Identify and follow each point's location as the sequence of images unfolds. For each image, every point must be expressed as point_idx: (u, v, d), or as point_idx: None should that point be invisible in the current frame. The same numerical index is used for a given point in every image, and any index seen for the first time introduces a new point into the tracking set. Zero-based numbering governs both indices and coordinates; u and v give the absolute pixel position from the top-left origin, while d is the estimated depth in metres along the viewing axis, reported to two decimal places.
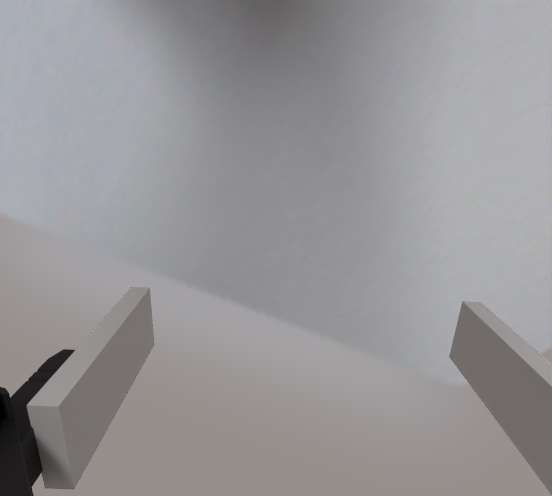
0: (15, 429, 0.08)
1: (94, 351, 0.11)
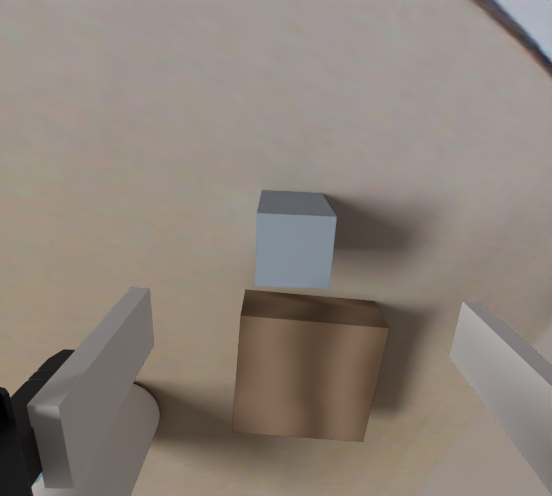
0: (15, 429, 0.08)
1: (94, 351, 0.11)
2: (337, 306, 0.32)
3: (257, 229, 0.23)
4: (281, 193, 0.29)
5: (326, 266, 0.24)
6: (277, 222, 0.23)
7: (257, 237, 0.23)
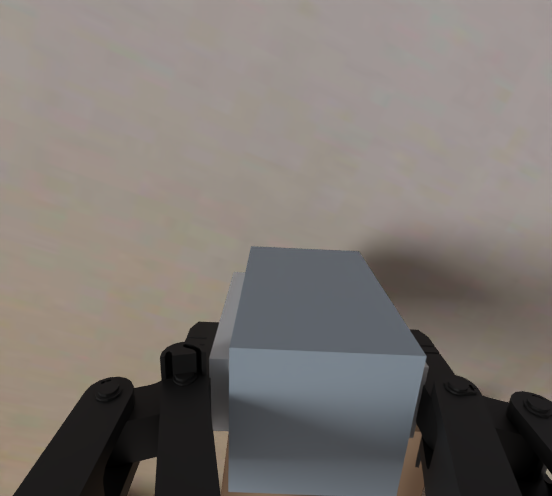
0: (206, 382, 0.10)
1: None
2: None
3: (231, 382, 0.09)
4: (286, 255, 0.16)
5: (392, 457, 0.10)
6: (281, 368, 0.09)
7: (232, 399, 0.10)
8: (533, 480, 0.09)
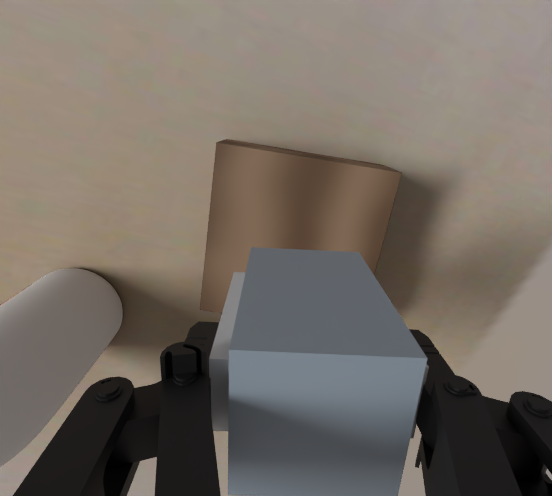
0: (206, 382, 0.10)
1: None
2: (338, 159, 0.26)
3: (231, 384, 0.09)
4: (286, 256, 0.16)
5: (393, 460, 0.10)
6: (281, 371, 0.09)
7: (231, 401, 0.10)
8: (533, 480, 0.09)
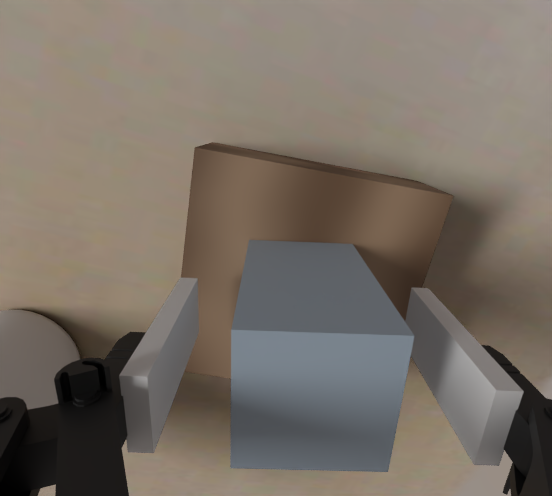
0: (112, 399, 0.09)
1: (164, 332, 0.12)
2: (361, 173, 0.19)
3: (233, 362, 0.10)
4: (283, 247, 0.16)
5: (383, 432, 0.11)
6: (279, 349, 0.10)
7: (233, 378, 0.10)
8: None
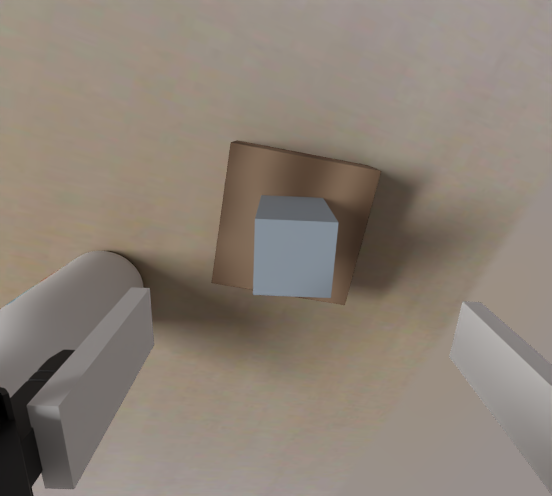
0: (15, 429, 0.08)
1: (94, 351, 0.11)
2: (330, 159, 0.31)
3: (255, 235, 0.22)
4: (281, 198, 0.28)
5: (327, 274, 0.23)
6: (276, 229, 0.22)
7: (255, 244, 0.22)
8: None
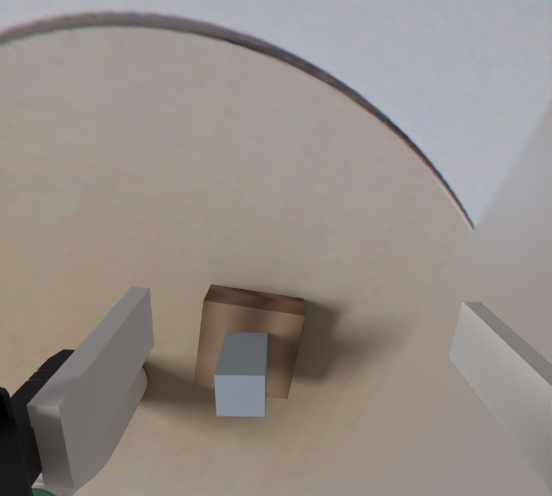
0: (15, 429, 0.08)
1: (94, 351, 0.11)
2: (274, 300, 0.45)
3: (215, 384, 0.36)
4: (238, 336, 0.42)
5: (261, 403, 0.37)
6: (227, 380, 0.36)
7: (215, 388, 0.36)
8: None
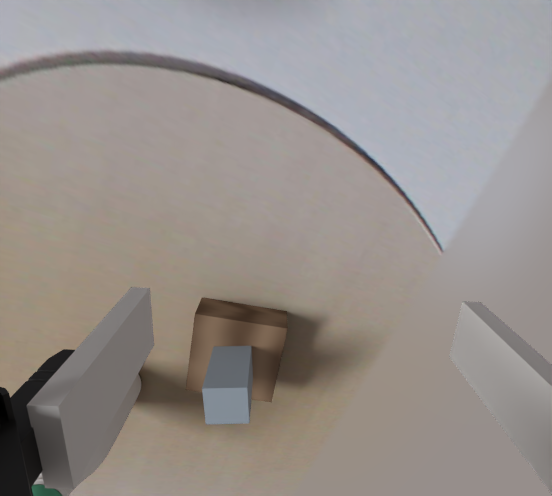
0: (15, 429, 0.08)
1: (94, 351, 0.11)
2: (260, 313, 0.49)
3: (203, 396, 0.40)
4: (224, 350, 0.46)
5: (245, 412, 0.41)
6: (214, 392, 0.40)
7: (204, 400, 0.40)
8: None
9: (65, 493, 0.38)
